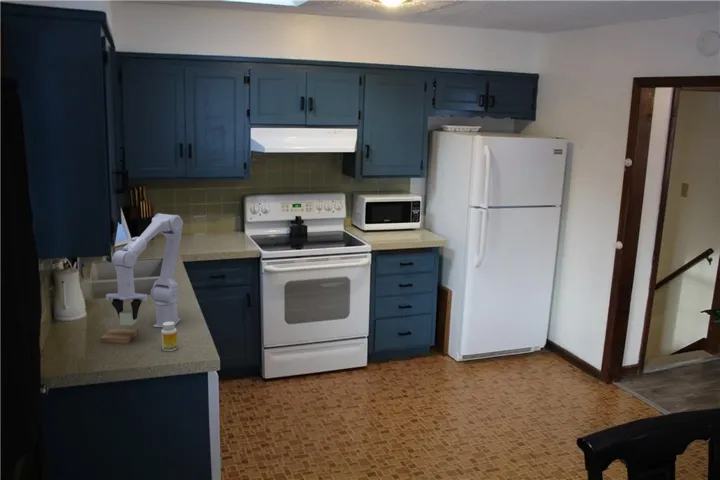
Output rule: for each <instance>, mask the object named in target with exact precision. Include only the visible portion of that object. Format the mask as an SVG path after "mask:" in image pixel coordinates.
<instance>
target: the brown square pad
mask: <svg viewBox="0 0 720 480" xmlns="http://www.w3.org/2000/svg"><path fill="white" fill-rule="evenodd" d="M138 335H139V329H138V328H123V327H122V328H117V327H115V328H113V327H112V328H110V329H109V330H108V331H107V332H106V333H104V334H103V335H102V336H101V337H100V343H101V344H127V345H128V344H129V343H130V342H132V340H134V339H135V338H136V337H137V336H138ZM135 336H136V337H135Z"/></svg>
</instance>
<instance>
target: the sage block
mask: <svg viewBox="0 0 720 480" xmlns="http://www.w3.org/2000/svg"><path fill="white" fill-rule="evenodd" d="M119 316H120V319H119V325H120V326H133V325H134V324H135V323H137V322H138V318H137V319H135V320H133V311H132V308H131V309H127V308H125V309H124V308H123V311H121V312H120V313H119ZM119 316H118V317H119Z"/></svg>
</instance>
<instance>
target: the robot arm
mask: <svg viewBox="0 0 720 480" xmlns="http://www.w3.org/2000/svg"><path fill="white" fill-rule="evenodd" d="M183 226H184V221H183V219H182V218H181V216H180V215H178V214H167V213H156V214H155V215H154V217H152V218H151V223H150V224H149V225H148V226H147V227H146V229H145V230H144V231H143V232H142V233H141V234H140V236H134V237H132V238H131V239H130V241H129V242H128V243H127V244H126V245H125V246H124V247H123V248H122V249H121V250H120V249H119V250H117V251H115V252H114V253H113V255H112V259H111V263H112V265H114V270H115V271H116V283H117V292H116V293H115V292H114V293H106V295H105V300H106V301H110V300H111V305H112V307H113V308H114V309H115V311H116V313H117V316H118V319H119V320H120V316H119V313H120V312H121V311H123V310H124V301H131V302H130V306H131V309H132V311H133V320H135V319H137V320H138V313H139V309H140V306H141V304H142V302H143V301H144V302H146V301H147V300H148V293H147V294H146V293H145V294H144V293H139V292H136V291H135V290H136V289H135V277H134V276H135V275H134V266H135V264H136V263H137V259H138V258H139V256H140V255H141V254H142V253H143V252H144V251H145V250H146V249H147V244H148V242H149V241H151V240H152V239H153V238H154V237H156V236H157V235H158V234H159V233H160V234H162V235H163V236H164V237H165V239H166V241H165V246H164V252H163V257H162V264H161V268H160V275H159V278H158V279H156V280H155V281H153V285H152V288H151V289H150V298H151V300H153V303H154V304H155V313H156V316H155V317H156V323H155V324H154V325H152V327H153V328H163V323H165V322H174V323H175V326H176V325H177V324H178V323H179V322H180V321H181V318H179V313H178V310H179V309H178V307H179V306H178V304H177V301H178V300H179V297H180V293H179V287H180V285H179V284H178V283H177V281H176V280H175V275H176V269H177V264H178V257H179V252H180V245H181V240H182V232H183Z"/></svg>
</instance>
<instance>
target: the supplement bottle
mask: <svg viewBox="0 0 720 480" xmlns="http://www.w3.org/2000/svg"><path fill="white" fill-rule="evenodd" d="M175 326H176V325H175V323H174V322H165V323H163V327H162V329H161V331H160V334H161V335H160V336H161V337H160V338H161V350H162V351H164V352H172V351H173V352H174V351H175V350H177V349H178V347H179V346H178V333H177V332H178V330H177V328H176V327H175Z"/></svg>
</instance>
